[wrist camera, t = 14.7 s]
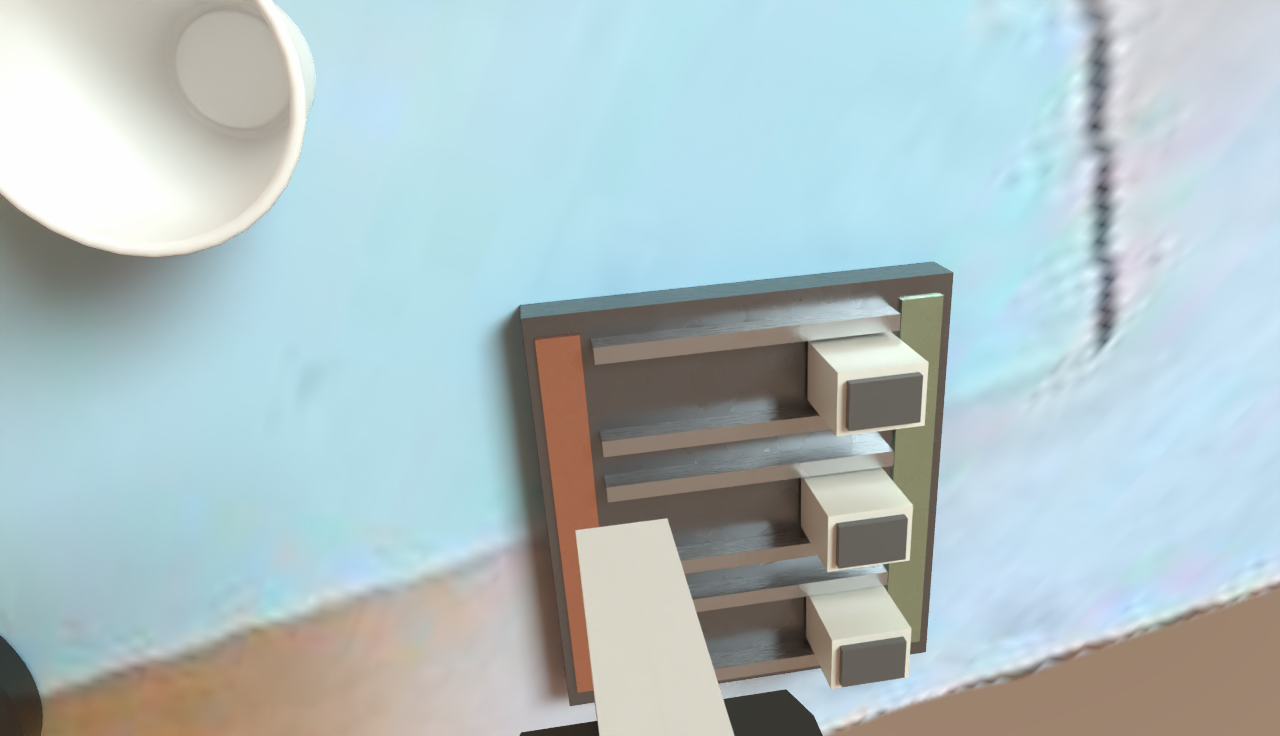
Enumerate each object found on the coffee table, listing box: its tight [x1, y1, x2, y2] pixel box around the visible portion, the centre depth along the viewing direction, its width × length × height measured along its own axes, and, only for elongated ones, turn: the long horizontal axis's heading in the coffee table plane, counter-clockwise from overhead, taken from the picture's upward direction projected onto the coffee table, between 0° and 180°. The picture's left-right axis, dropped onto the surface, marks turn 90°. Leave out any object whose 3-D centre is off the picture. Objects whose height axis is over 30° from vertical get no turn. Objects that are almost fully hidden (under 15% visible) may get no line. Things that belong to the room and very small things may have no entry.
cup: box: [0, 0, 316, 258], centre depth 29 cm, size 10×10×11 cm
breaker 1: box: [808, 332, 929, 437], centre depth 38 cm, size 4×3×4 cm
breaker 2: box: [801, 467, 913, 572], centre depth 41 cm, size 4×3×4 cm
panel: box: [520, 262, 953, 706], centre depth 43 cm, size 20×22×3 cm
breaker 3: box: [806, 586, 911, 689], centre depth 44 cm, size 4×3×4 cm
